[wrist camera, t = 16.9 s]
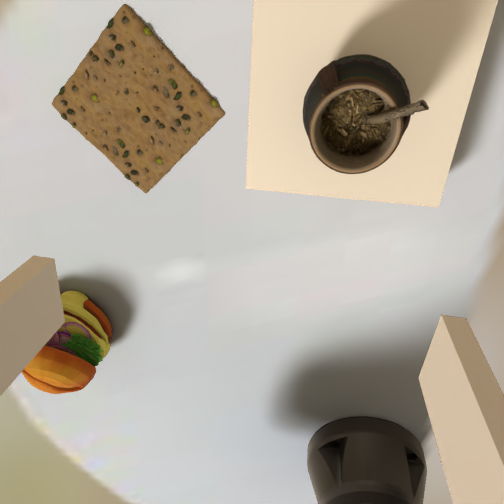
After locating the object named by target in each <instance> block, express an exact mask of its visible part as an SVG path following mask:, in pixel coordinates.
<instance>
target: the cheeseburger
mask: <svg viewBox="0 0 504 504" xmlns="http://www.w3.org/2000/svg"><path fill="white" fill-rule="evenodd" d="M60 295H61V300H62V306H63V312H64V318H65V322H64V323H63V325H62V326H61V327H60V328H59V329H58V330H57V331H56V333H55V334H54V335H53V336H52V337H51V338H50V340H49V341H48V342H47V343H46V344H45V345H44V346H43V348H42V349H41V350H40V351H39V352H38V353H37V354H36V356H35V357H34V358H33V359H32V360H31V361H30V363H29V364H28V365H27V366H26V367H25V368H24V369H23V371H22V373H23V375H24V377H25V378H26V379H27V381H28V382H29V383H30V384H31V385H32V386H34V387H35V388H37V389H39V390H42V391H44V392H48V393H52V394H60V393H67V392H74V391H79V390H81V389H83V388H84V387H85V386H86V385H87V384H88V383H89V382H90V381H91V380H92V379H93V377H94V375H95V373H96V368H95V366H97V365H98V363H99V362H100V361H102V360H103V358H104V357H105V356H106V355H107V353H108V352H109V350H110V346H111V344H109V342H110V338H111V334H112V327H111V325H110V322H109V320H108V319H107V317H106V316H105V315H104V313H103V312H102V311H101V310H100V309H99V308H98V307H97V306H96V305H94V304H93V303H92V302H91V301H90V300H87V299H88V297H87V296H86V295H84V294H83V293H81V292H78V291H66V292H64V293H63V294H60Z"/></svg>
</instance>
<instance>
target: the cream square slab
mask: <svg viewBox="0 0 504 504" xmlns="http://www.w3.org/2000/svg"><path fill="white" fill-rule="evenodd" d="M497 3H498V0H254V4H253V28H252V51H251V75H250V98H249V121H248V145H247V168H246V189H256V190H267V191H277V192H287V193H297V194H307V195H317V196H327V197H338V198H348V199H358V200H368V201H378V202H388V203H399V204H409V205H419V206H429V207H439V204H440V200H441V197H442V194H443V190H444V187H445V183H446V180H447V176H448V173H449V169H450V166H451V162H452V159H453V155H454V152H455V148H456V145H457V141H458V138H459V135H460V131H461V128H462V124H463V121H464V117H465V114H466V110H467V107H468V103H469V100H470V96H471V93H472V89H473V86H474V82H475V79H476V76H477V72H478V69H479V65H480V62H481V58H482V55H483V51H484V48H485V44H486V41H487V37H488V34H489V30H490V27H491V23H492V20H493V17H494V13H495V10H496V6H497ZM356 54H357V55H358V54H366V55H368V54H369V55H373V56H376V57H378V58H381V59H383V60H385V61H387V62H389V63H391V65H392V66H394V67H395V68H396V69H397V70H398V72H399V73H400V74H401V75H402V77H403V78H404V79H405V83H406V85H407V88H408V89H409V93H410V100H411V104H412V103H416V102H418V101H420V100H424V101H425V102H426V103H427V105H428V107H429V110H425V111H421V112H415V113H414V114H413V115H411V118H410V122H409V125H408V127H407V129H406V131H405V132H404V134H403V136H402V138H401V141H400V143H399V145H398V147H397V148H396V150H395V152H394V153H393V154H392V155H391V157H390V158H389V159H388V160H387V161H386V162H384V163H383V164H382V165H380V166H379V167H377V168H375V169H373V170H371V171H368V172H365V173H361V174H344V173H340V172H337V171H334V170H332V169H330V168H329V167H327V166H326V165H325V164H323V163H322V162H321V161H320V160H319V159H318V158H317V157H316V155H315V154H314V152H313V150H312V148H311V145H310V141H309V138H308V136H307V133H306V130H305V128H304V123H303V104H304V101H303V100H304V97H305V95H306V92H307V90H308V88H309V86H310V85H311V83H312V81H313V80H314V78H315V77H316V75H317V74H318V72H319V71H320V70H321V69H322V68H323V67H325V66H327V65H328V64H329V63H330V62H332V61H333V60H338V59H339V58H342V57H345V56H351V55H356Z"/></svg>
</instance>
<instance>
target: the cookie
mask: <svg viewBox="0 0 504 504" xmlns="http://www.w3.org/2000/svg"><path fill="white" fill-rule="evenodd" d="M52 105H53V106H54V108H55V109H56V110H57V111H58V112H59V113H60V114H61V117H62V118H63V119H65V120H67V121H68V122H69V123H70V124H71V125H72V127H73V128H76V129H77V130H78V131H79V132H80V133H81V134H82V135H83V136H84V137H85V138H86V139H87V140H88V141H90V142H91V143H92V144H93V145H94V146H95V147H96V148H97V149H98V150H100V151H101V152H102V153H103V154H105V156H106V157H107V158H108V159H109V160H110V161H111V162H112V163H113V164H114V165H115V166H116V167H117V168H118V169H119V170H120V171H121V172H122V173H123V174H124V175H125V177H126V178H127V179H129V180H131V181H132V182H133V183H134V184H135V186H138V187H139V188H140V189H141V190H142V191H143V192H144V193H147V192H148V191H149V190H150V189H151V188H153V186H155V185H156V184H157V183H158V182H159V181H160V180H161V179H162V177H163V176H164V175H165V174H167V173H168V172H169V171H170V170H171V169H172V167H173V166H174V165H175V164H176V163H177V162H178V161H179V160H180V159H181V158H182V157H183V156H184V155H185V154H186V153H187V152H188V151H189V150H190V149H191V148H192V147H193V146H194V145H196V144H197V142H198V141H199V139H200V138H201V137H202V136H204V135H205V133H207V132H208V131H209V130H210V129H211V128H212V127H213V126H214V125H215V124H216V123H217V121H218V120H219V119H221V118H222V117H223V116H224V115H225V112H224V111H223V110H222V108H221V107H220V106H219V105H218V103H217V101H216V100H215V99H214V98H212V97H211V96H210V95H209V94H208V92H207V91H206V90H205V89H204V88H203V87H202V85H201V84H200V83H199V82H198V81H196V80H195V79H194V78H193V77H192V76H191V74H190V73H189V72H188V71H187V70H186V69H185V67H184V66H183V65H182V64H181V63H180V62H179V61H178V60H177V59H176V58H175V57H174V56H173V54H172V53H171V52H170V51H169V50H168V49H167V47H166V46H165V45H164V44H162V42H161V41H160V40H159V39H158V38H157V37H156V36H155V35H154V34H153V32H152V31H151V30H150V29H149V28H148V27H147V26H146V25H145V24H144V23H143V22H142V21H141V19H140V18H139V17H138V16H137V15H136V14H135V13H134V11H133V10H132V9H131V8H130V7H128V6H127V5H125V4H124V5H122V7H121V8H120V9H119V10H118V12H117V13H116V15H115V16H114V18H113V19H111V20H110V21H109V22H108V26H107V27H106V28H105V30H104V31H103V32H102V33H101V35H100V37H99V39H98V40H97V42H96V43H95V44H94V45H93V47H92V48H91V49H90V50H89V52H88V53H87V55H86V57H85V58H84V59H83V61H82V62H81V63H80V64H79V66H78V68H77V70H76V71H75V73H74V74H73V75H72V76H71V77H70V78H69V80H68V81H67V83H66V84H65V86H64V87H62V88H61V89H60V92H59V93H58V95H57V96H56V97H55V98H54V100H53V102H52Z"/></svg>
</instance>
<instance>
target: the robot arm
mask: <svg viewBox="0 0 504 504" xmlns="http://www.w3.org/2000/svg"><path fill="white" fill-rule="evenodd" d="M64 322H65V318H64V312H63V306H62V300H61V295H60V289H59V283H58V277H57V272H56V266H55V260H54V259H53V258H46V257H39V256H33V257H31V258H30V259H29V260H28V261H26V262H25V263H24V264H23V265H21V266H20V267H19V268H17V269H16V270H15V271H14V272H12V273H11V274H10V275H9V276H7V277H6V278H5V279H4V280H2V281H1V282H0V396H1V395H2V394H3V392H4V391H5V390H6V389H7V388H8V387H9V386H10V384H11V383H12V382H13V381H14V380H15V379H16V377H17V376H18V375H19V374H20V373H21V372H22V371H23V369H24V368H25V367H26V366H27V365H28V364H29V363H30V361H31V360H32V359H33V358H34V357H35V356H36V354H37V353H38V352H39V351H40V350H41V349H42V348H43V346H44V345H45V344H46V343H47V342H48V341H49V340H50V338H51V337H52V336H53V335H54V334H55V333H56V331H57V330H58V329H59V328H60V327H61V326H62V325H63V323H64ZM418 378H419V382H420V385H421V389H422V393H423V396H424V400H425V404H426V407H427V411H428V415H429V418H430V422H431V425H432V429H433V433H434V436H435V440H436V444H437V447H438V451H439V454H440V458H441V462H442V465H443V469H444V472H445V476H446V480H447V484H448V487H449V491H450V495H451V498H452V502H453V504H504V395H503V392H502V391H501V388H500V387H499V385H498V382H497V380H496V378H495V376H494V374H493V372H492V370H491V368H490V367H489V364H488V362H487V360H486V358H485V356H484V354H483V352H482V350H481V348H480V346H479V344H478V342H477V340H476V338H475V336H474V334H473V332H472V330H471V328H470V325H469V323H468V321H467V319H466V318H459V317H453V316H446V315H441V317H440V320H439V323H438V325H437V328H436V331H435V334H434V336H433V339H432V342H431V345H430V347H429V350H428V353H427V356H426V358H425V361H424V364H423V366H422V369H421V372H420V375H419V377H418ZM307 466H308V472H309V475H310V479H311V482H312V485H313V488H314V492H315V495H316V498H317V501H318V504H423V498H424V491H425V484H426V476H427V467H426V462H425V458H424V453H423V449H422V447H421V445H420V443H419V441H418V440H417V439H416V438H415V437H414V436H413V435H412V434H411V433H410V432H409V431H407V430H406V429H404V428H402V427H401V426H399V425H396V424H394V423H391V422H389V421H385V420H381V419H376V418H367V417H356V418H347V419H342V420H338V421H335V422H332V423H330V424H328V425H326V426H324V427H323V428H321V429H320V430H319V431H317V432H316V433H315V434H314V436H313V437H312V438H311V440H310V442H309V445H308V457H307Z"/></svg>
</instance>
